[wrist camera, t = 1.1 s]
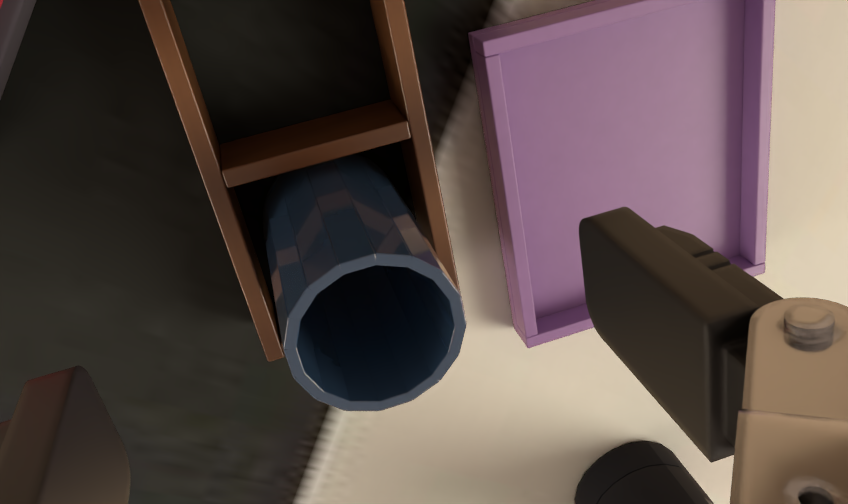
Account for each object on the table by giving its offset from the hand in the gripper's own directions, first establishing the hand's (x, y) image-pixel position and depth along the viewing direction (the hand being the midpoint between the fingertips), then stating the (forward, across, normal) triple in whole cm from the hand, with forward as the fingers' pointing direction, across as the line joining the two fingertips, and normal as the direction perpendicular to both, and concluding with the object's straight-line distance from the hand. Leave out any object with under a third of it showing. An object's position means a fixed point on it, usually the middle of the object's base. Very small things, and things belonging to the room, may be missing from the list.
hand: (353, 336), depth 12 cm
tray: (+19, -14, +7) cm, 25 cm away
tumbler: (+19, -1, +6) cm, 20 cm away
